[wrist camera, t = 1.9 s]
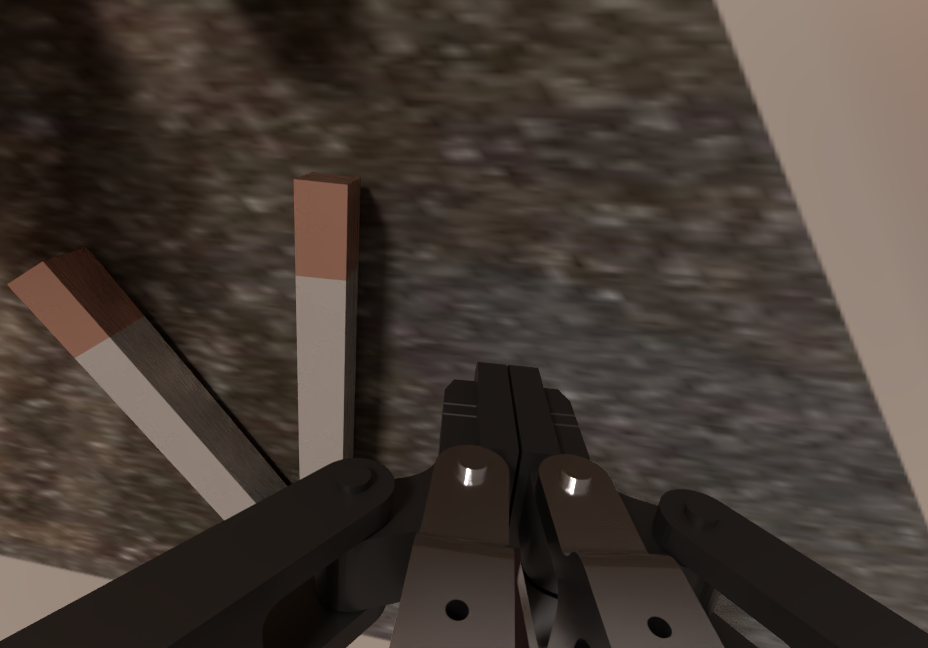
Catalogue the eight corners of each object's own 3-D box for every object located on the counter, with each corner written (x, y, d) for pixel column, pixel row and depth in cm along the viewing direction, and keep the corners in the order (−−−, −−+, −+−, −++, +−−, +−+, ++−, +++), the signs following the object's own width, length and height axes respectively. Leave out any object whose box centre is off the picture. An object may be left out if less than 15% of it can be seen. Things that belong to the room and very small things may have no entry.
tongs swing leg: (361, 504, 34) (350, 544, 31) (306, 499, 34) (289, 539, 31) (373, 178, 26) (360, 186, 23) (301, 170, 26) (278, 178, 23)
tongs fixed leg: (394, 524, 34) (388, 560, 31) (310, 561, 36) (297, 599, 33) (148, 205, 27) (111, 215, 24) (53, 267, 28) (7, 284, 25)
